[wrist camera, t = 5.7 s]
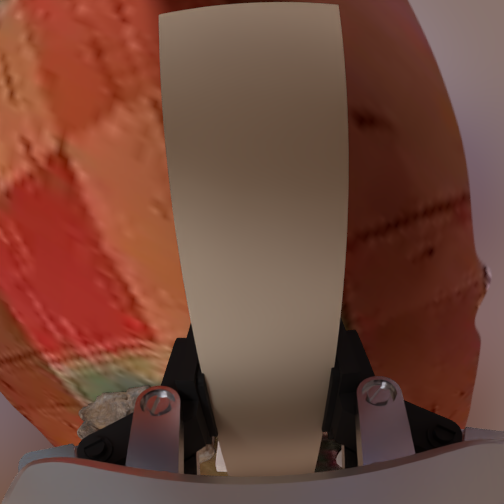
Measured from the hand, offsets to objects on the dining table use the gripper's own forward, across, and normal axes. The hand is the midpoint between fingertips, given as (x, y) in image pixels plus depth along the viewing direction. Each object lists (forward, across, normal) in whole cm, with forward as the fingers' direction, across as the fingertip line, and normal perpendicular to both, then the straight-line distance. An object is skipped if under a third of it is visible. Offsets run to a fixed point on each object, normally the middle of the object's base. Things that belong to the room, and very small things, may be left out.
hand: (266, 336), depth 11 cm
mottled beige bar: (+2, 0, 0) cm, 2 cm away
